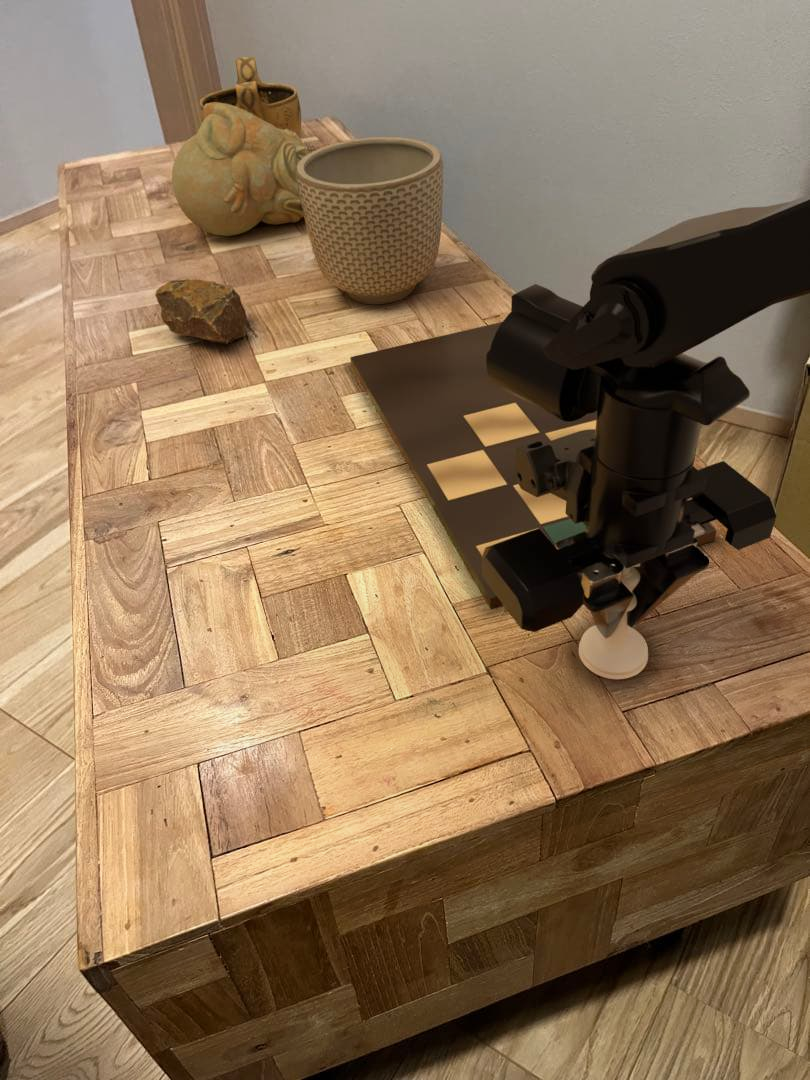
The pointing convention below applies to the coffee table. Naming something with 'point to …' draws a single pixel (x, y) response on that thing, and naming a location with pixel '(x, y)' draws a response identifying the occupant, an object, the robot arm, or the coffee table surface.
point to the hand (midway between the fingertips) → (616, 627)
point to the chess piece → (616, 643)
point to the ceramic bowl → (260, 98)
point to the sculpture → (238, 172)
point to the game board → (468, 441)
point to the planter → (373, 214)
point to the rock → (202, 310)
